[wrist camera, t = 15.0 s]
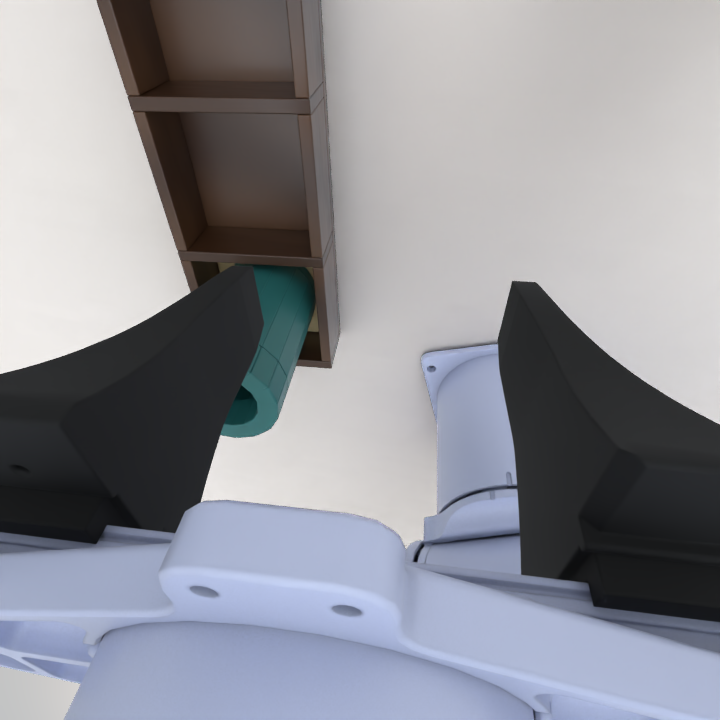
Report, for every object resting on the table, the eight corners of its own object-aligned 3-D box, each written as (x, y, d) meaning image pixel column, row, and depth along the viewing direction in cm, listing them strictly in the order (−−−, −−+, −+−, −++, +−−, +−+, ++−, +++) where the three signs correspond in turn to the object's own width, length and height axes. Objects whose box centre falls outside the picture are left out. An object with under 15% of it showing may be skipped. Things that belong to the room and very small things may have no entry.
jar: (329, 316, 24) (295, 433, 19) (254, 328, 26) (200, 441, 20) (298, 240, 22) (246, 351, 16) (215, 258, 23) (139, 366, 17)
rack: (340, 333, 26) (331, 369, 24) (230, 325, 27) (212, 359, 25) (311, -160, 13) (287, -180, 11) (103, -151, 14) (41, -168, 12)
